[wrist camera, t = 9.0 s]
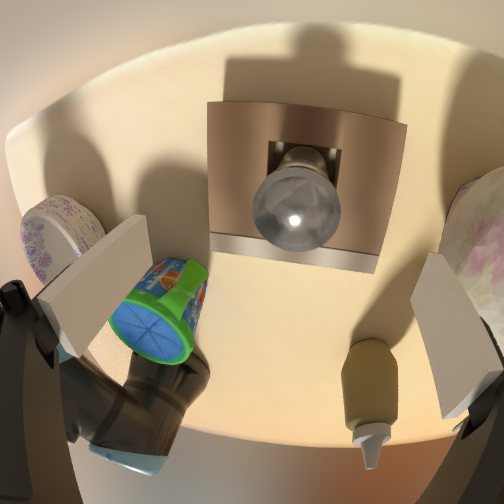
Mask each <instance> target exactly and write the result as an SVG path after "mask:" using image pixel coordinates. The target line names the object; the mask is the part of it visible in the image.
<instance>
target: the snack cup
mask: <svg viewBox="0 0 504 504" xmlns="http://www.w3.org/2000/svg"><path fill="white" fill-rule="evenodd" d="M207 277H208V272H207V271H206V269H205V268H204V267H203V266H202V265H201V264H200V263H198V262H197V261H195V260H193V259H189V260H187V261H186V263H185V262H183V261H181V260H177V259H170V258H167V259H164V260H162V261H161V262H159V263H157V264H156V265H155V266H153V267H152V268H151V269H150V270H148V271H147V272H146V273H145V275H144V276H143V277H142V278H141V279H140V281H139V282H138V283H137V284H136V285H135V287H134V288H133V289H132V290H131V291H130V293H129V294H128V295H127V296H126V298H125V299H124V300H123V301H122V303H121V304H120V305H119V306H118V308H117V309H116V310H115V311H114V313H113V314H112V315H111V317H110V318H109V319H108V321H109V324H110V326H111V328H112V329H113V331H114V332H115V333H116V335H117V336H118V337H119V338H120V339H121V340H122V341H123V342H124V343H125V344H126V345H127V346H128V347H129V348H131V349H132V350H133V351H135V352H136V353H138V354H140V355H141V356H143V357H145V358H147V359H149V360H152V361H154V362H157V363H162V364H169V365H175V364H179V363H183V362H184V361H185V360H186V359H187V358H188V357H189V355H190V353H191V352H192V351H193V349H194V333H195V329H196V326H197V322H198V318H199V315H200V311H201V308H202V305H203V301H204V298H205V293H206V287H205V284H204V281H205V280H206V279H207Z"/></svg>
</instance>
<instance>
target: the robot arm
mask: <svg viewBox="0 0 504 504" xmlns="http://www.w3.org/2000/svg"><path fill="white" fill-rule="evenodd" d="M152 265H153V260H152V254H151V248H150V242H149V235H148V228H147V221H146V215H136V214H132V215H131V216H130V217H129V218H127V219H126V220H125V221H123V222H122V223H121V224H119V225H118V226H117V227H116V228H114V229H113V230H112V231H111V232H109V233H108V234H107V235H106V236H104V237H103V238H102V239H101V240H99V241H98V242H97V243H96V244H95V245H93V246H92V247H91V248H90V249H89V250H88V251H86V252H85V253H84V254H83V255H82V256H81V257H79V258H78V259H77V260H76V261H75V262H73V263H72V264H70V265H68V266H67V267H66V268H65V269H63V270H62V271H61V272H60V274H58V275H57V276H56V277H55V278H54V280H51V281H50V282H49V283H48V284H47V285H46V286H45V287H44V288H43V289H42V290H41V291H40V292H39V293H38V294H37V295H36V296H35V297H34V298H33V299H32V300H31V299H30V297H29V295H28V293H27V291H26V289H25V286H24V284H23V282H22V281H20V280H12V281H10V282H8V283H6V284H5V285H3V286H2V287H1V288H0V303H1V304H0V504H83V501H82V498H81V494H80V491H79V488H78V484H77V481H76V477H75V473H74V470H73V465H72V461H71V457H70V452H69V447H68V445H73V444H75V442H76V440H77V439H78V437H79V436H81V437H83V438H85V439H86V440H88V441H89V442H90V443H91V444H89V451H90V452H92V453H94V454H96V455H98V456H100V457H102V458H104V459H106V460H109V461H111V462H113V463H116V464H119V465H121V466H123V467H126V468H128V469H131V470H134V471H137V472H139V473H143V474H146V475H150V476H152V475H157V474H158V473H159V472H160V471H161V469H162V467H163V465H164V463H165V461H166V460H167V459H168V457H169V456H168V454H169V452H170V449H171V447H172V444H173V442H174V439H175V437H176V434H177V432H178V429H179V427H180V424H181V422H182V419H183V417H184V414H185V412H186V410H187V408H188V407H189V406H190V405H191V404H192V403H193V402H194V401H195V400H196V399H197V398H198V397H199V395H200V394H201V393H202V392H203V391H204V390H205V388H206V386H207V383H208V381H209V378H210V374H209V371H208V369H207V367H206V365H205V364H204V363H203V362H202V361H201V360H200V359H199V358H198V357H197V356H196V355H195V354H193V353H192V352H191V353H190V355H189V357H188V358H187V359H186V360H185V361H184V362H183V363H179V364H175V365H169V364H162V363H157V362H154V361H152V360H149V359H147V358H145V357H143V356H141V355H140V354H138V353H136V352H135V351H133V352H132V356H131V361H130V366H129V372H128V377H127V380H126V382H125V383H124V385H123V387H122V386H121V385H120V384H118V383H117V382H116V381H115V380H113V379H112V378H111V377H110V376H108V375H107V374H106V373H105V372H103V371H102V370H101V369H100V368H99V367H97V366H96V365H95V364H94V363H93V362H91V361H90V360H89V359H88V358H87V357H86V356H84V355H83V352H84V351H85V350H86V348H87V347H88V346H89V344H90V343H91V342H92V340H93V339H94V338H95V336H96V335H97V334H98V332H99V331H100V330H101V328H102V327H103V326H104V324H105V323H106V322H107V320H108V319H109V318H110V317H111V315H112V314H113V313H114V311H115V310H116V309H117V308H118V306H119V305H120V304H121V303H122V301H123V300H124V299H125V298H126V296H127V295H128V294H129V293H130V291H131V290H132V289H133V288H134V287H135V285H136V284H137V283H138V282H139V281H140V279H141V278H142V277H143V276H144V275H145V273H146V272H147V271H148V270H149V269H150V267H151V266H152ZM410 302H411V305H412V308H413V311H414V314H415V316H416V319H417V322H418V325H419V328H420V332H421V335H422V338H423V341H424V344H425V348H426V351H427V355H428V358H429V362H430V366H431V369H432V373H433V377H434V381H435V386H436V390H437V394H438V399H439V404H440V409H441V414H442V419H448V418H455V417H458V416H460V415H461V414H462V413H463V412H464V411H465V410H466V409H467V408H468V411H469V415H468V416H467V417H466V418H465V419H464V420H463V421H461V422H460V423H459V424H458V425H457V426H455V428H454V429H453V430H452V431H453V432H455V431H456V430H457V429H458V428H460V427H461V428H460V430H459V432H458V433H457V436H456V439H455V440H454V442H453V444H452V446H451V448H450V450H449V452H448V454H447V455H446V457H445V459H444V461H443V463H442V464H441V466H440V467H439V469H438V471H437V473H436V474H435V476H434V477H433V479H432V480H431V482H430V483H429V485H428V487H427V488H426V489H425V491H424V492H423V494H422V495H421V496H420V498H419V499H418V501H417V502H416V503H415V504H504V356H503V354H502V352H501V350H500V347H499V345H497V341H496V339H495V337H493V336H494V335H493V333H492V331H491V329H490V327H489V325H488V324H487V323H486V322H485V320H484V319H483V318H482V317H480V316H479V314H478V312H477V311H476V309H475V307H474V305H473V303H472V302H471V300H470V298H469V296H468V294H467V293H466V291H465V289H464V288H463V286H462V284H461V283H460V281H459V279H458V278H457V276H456V275H455V273H454V272H453V270H452V268H451V267H450V265H449V264H448V262H447V261H446V259H445V258H444V256H443V255H442V254H438V253H432V252H429V253H428V256H427V259H426V261H425V264H424V267H423V269H422V272H421V274H420V277H419V279H418V282H417V284H416V286H415V289H414V291H413V293H412V296H411V298H410ZM1 305H2V306H1Z"/></svg>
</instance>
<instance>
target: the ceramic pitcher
mask: <svg viewBox="0 0 504 504" xmlns="http://www.w3.org/2000/svg"><path fill="white" fill-rule="evenodd" d="M438 254H442V255H443V256H444V258H445V259H446V261H447V262H448V264H449V265H450V267H451V268H452V270H453V272H454V273H455V275H456V276H457V278H458V279H459V281H460V283H461V284H462V286H463V288H464V289H465V291H466V293H467V294H468V296H469V298H470V300H471V302H472V303H473V305H474V307H475V309H476V311H477V312H478V314H479V316H480V317H482V318H483V319H484V320H485V322H486V323H487V324H488V325H489V327H490V329H491V331H492V333H493V335H494V336H493V337H495V339H496V341H497V345H499V347H500V350H501V352H502V354H503V356H504V165H503V166H501V167H499V168H497V169H494V170H492V171H491V172H489V173H487V174H485V175H484V176H483V177H480V178H477V179H475V180H473V181H471V182H469V183H467V184H465V185H463V186H461V187H460V189H459V191H458V193H457V195H456V197H455V199H454V201H453V203H452V205H451V208H450V210H449V212H448V216H447V220H446V223H445V227H444V231H443V234H442V238H441V241H440V244H439V251H438Z"/></svg>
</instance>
